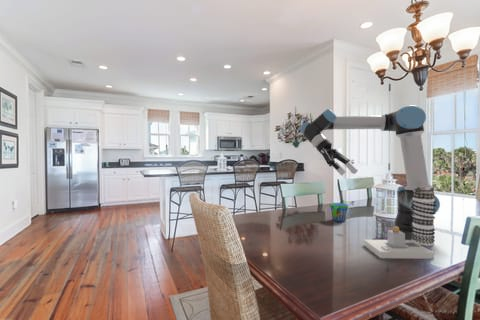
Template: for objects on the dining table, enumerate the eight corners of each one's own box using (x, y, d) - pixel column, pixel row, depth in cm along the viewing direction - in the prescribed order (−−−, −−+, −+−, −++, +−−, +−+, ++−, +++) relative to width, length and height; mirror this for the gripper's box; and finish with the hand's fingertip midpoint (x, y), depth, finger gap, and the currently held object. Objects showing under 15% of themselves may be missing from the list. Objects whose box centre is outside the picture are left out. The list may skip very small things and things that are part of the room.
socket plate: (410, 245, 107) (410, 238, 107) (433, 258, 93) (433, 250, 93) (364, 245, 108) (363, 238, 108) (380, 258, 94) (380, 250, 94)
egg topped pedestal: (398, 248, 103) (398, 225, 103) (405, 253, 98) (405, 228, 98) (387, 248, 103) (387, 225, 103) (393, 253, 99) (393, 228, 99)
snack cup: (336, 216, 160) (336, 201, 160) (352, 219, 153) (352, 203, 153) (325, 221, 149) (324, 205, 149) (342, 224, 142) (342, 207, 142)
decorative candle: (439, 247, 105) (440, 190, 104) (414, 244, 108) (414, 189, 107) (430, 239, 113) (431, 186, 112) (407, 237, 117) (408, 186, 116)
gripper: (328, 149, 141) (355, 176, 130) (304, 148, 124) (332, 179, 113) (337, 139, 137) (365, 166, 126) (313, 137, 120) (343, 168, 109)
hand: (350, 173), depth 119 cm, fingers open, 13 cm apart
